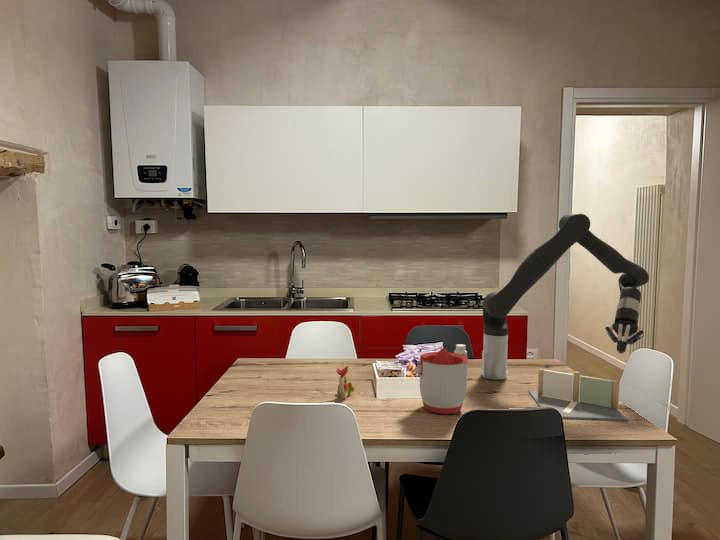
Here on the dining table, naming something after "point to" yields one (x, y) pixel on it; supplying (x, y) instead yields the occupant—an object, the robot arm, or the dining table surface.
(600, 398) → the fence hinged section
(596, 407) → the board
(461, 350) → the supplement bottle
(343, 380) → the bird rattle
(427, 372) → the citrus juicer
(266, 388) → the dining table surface
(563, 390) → the panel
